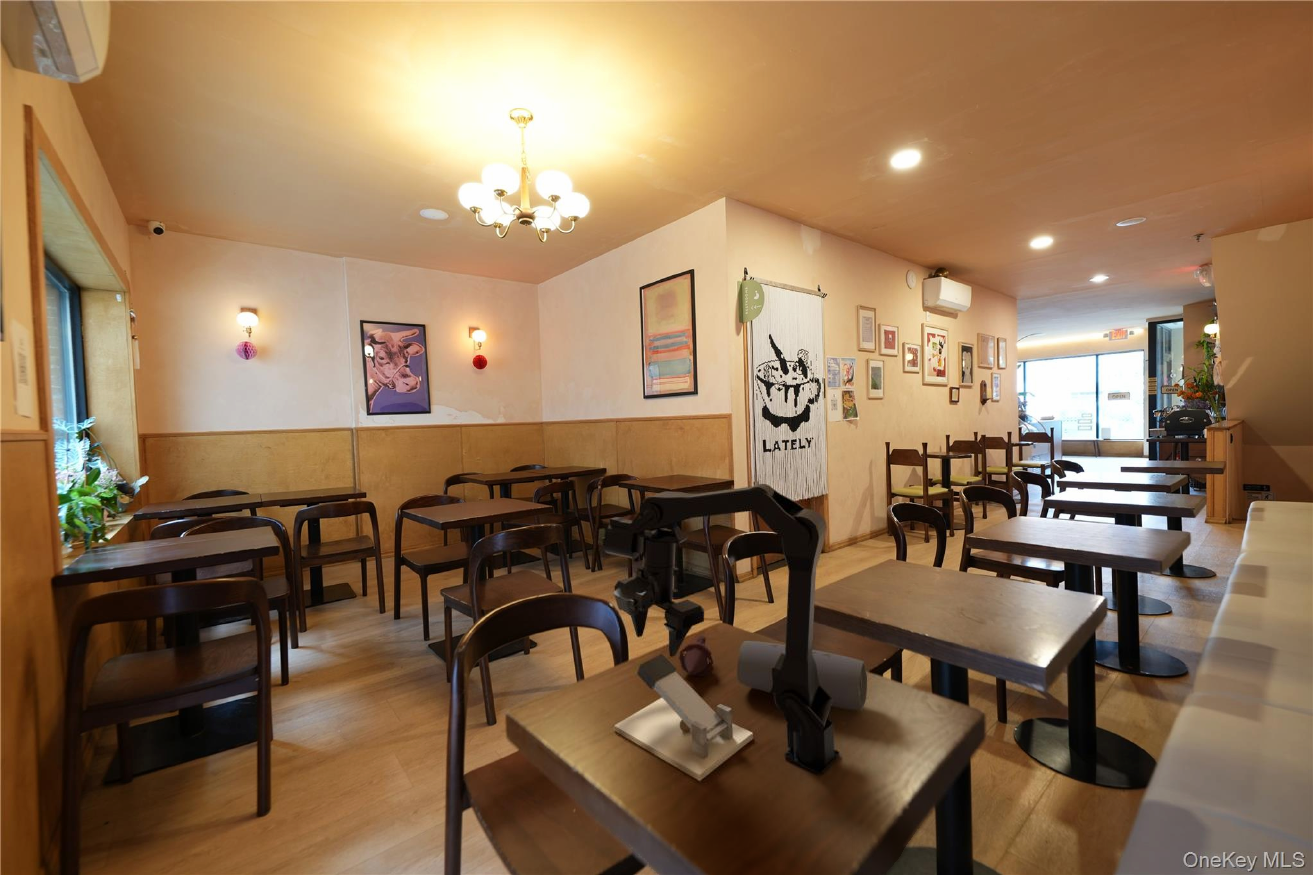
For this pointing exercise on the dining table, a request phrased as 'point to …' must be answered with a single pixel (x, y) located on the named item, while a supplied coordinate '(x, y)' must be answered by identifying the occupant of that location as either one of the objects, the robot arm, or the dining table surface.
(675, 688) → the lever
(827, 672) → the bluetooth speaker
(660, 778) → the dining table surface
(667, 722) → the nutcracker board
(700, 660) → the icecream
